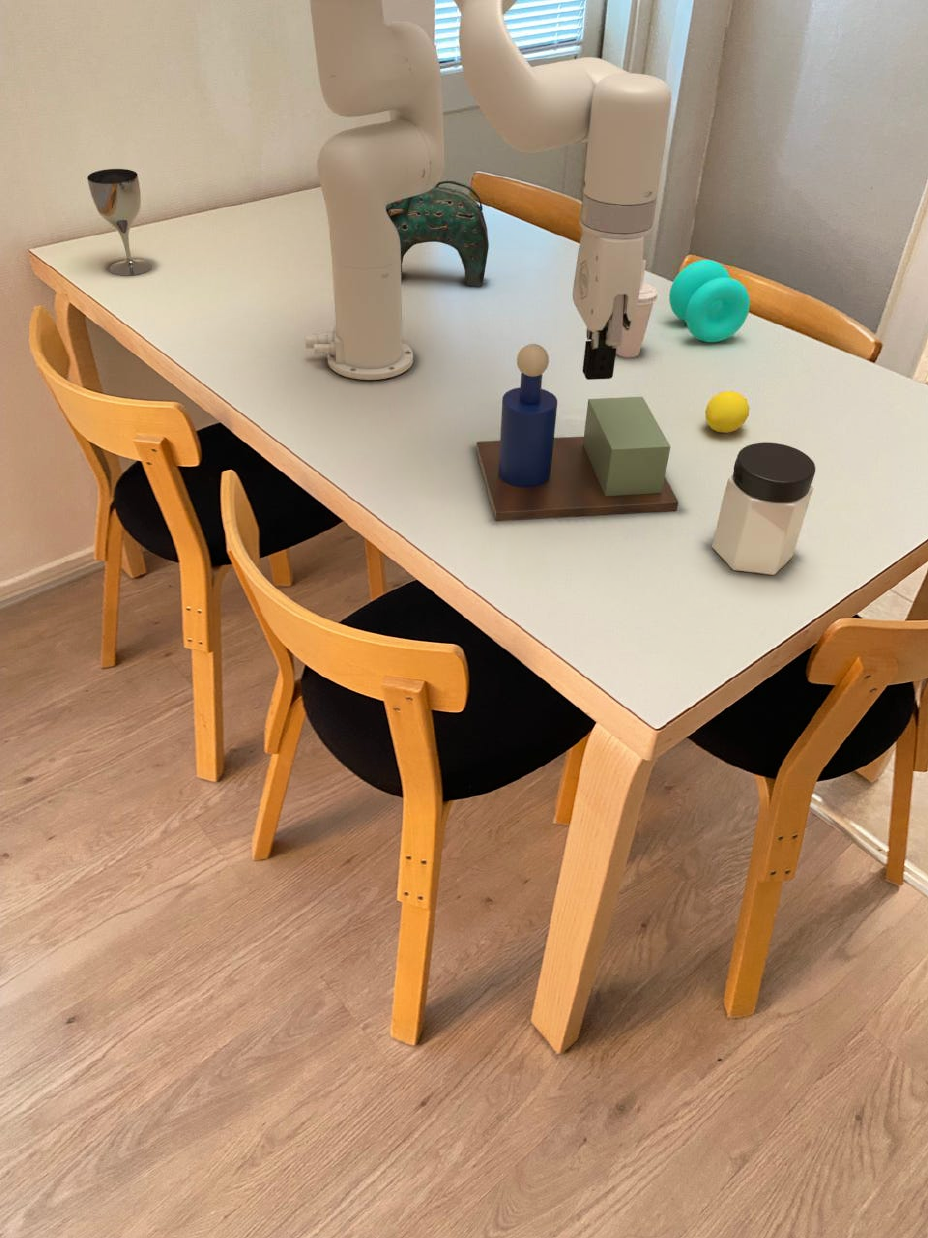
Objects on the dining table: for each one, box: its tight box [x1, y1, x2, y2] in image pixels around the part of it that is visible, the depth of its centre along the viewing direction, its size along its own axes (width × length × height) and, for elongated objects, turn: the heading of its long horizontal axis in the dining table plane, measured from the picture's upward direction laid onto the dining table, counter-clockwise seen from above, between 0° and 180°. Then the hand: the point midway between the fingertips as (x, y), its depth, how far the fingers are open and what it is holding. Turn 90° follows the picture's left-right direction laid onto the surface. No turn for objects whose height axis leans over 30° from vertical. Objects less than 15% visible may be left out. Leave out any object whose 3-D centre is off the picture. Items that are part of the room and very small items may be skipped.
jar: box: [711, 441, 816, 576], centre depth 106 cm, size 9×8×12 cm
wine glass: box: [86, 168, 153, 277], centre depth 163 cm, size 8×8×15 cm
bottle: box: [498, 343, 558, 487], centre depth 115 cm, size 14×6×15 cm
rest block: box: [583, 396, 671, 496], centre depth 119 cm, size 7×12×6 cm, turn 8°
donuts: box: [668, 259, 751, 343], centre depth 151 cm, size 10×10×10 cm
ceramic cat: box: [386, 180, 490, 288], centre depth 161 cm, size 20×6×20 cm, turn 83°
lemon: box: [704, 390, 750, 434], centre depth 129 cm, size 7×5×5 cm
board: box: [475, 436, 679, 522], centre depth 120 cm, size 22×16×1 cm
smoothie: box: [616, 259, 658, 358], centre depth 143 cm, size 6×6×14 cm
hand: (597, 375), depth 112 cm, fingers closed
